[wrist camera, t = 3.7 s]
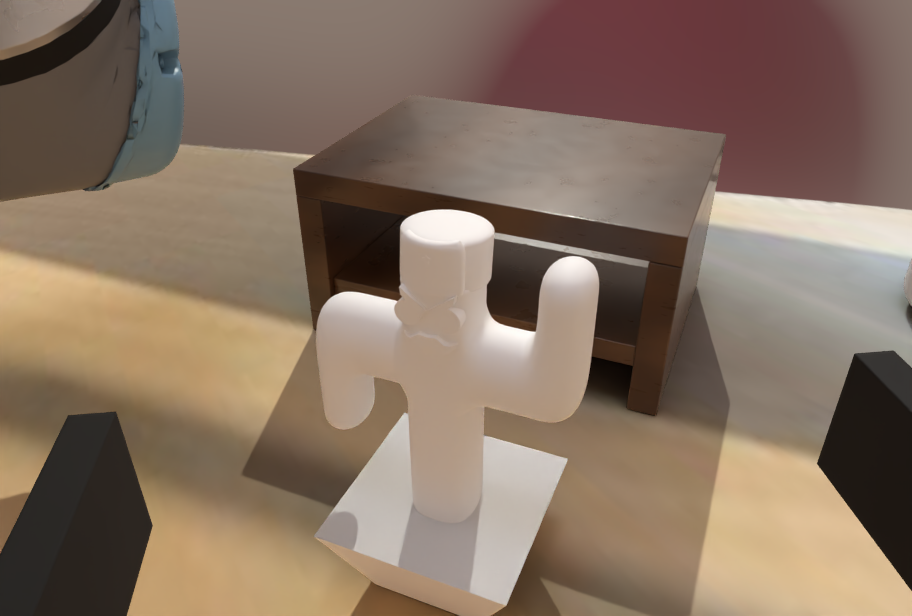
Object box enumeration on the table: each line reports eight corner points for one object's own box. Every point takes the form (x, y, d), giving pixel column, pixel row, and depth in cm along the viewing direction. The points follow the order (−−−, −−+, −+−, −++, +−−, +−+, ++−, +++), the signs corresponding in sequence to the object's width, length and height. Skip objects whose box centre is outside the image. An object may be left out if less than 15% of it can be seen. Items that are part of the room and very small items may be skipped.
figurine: (386, 467, 34) (362, 157, 26) (586, 530, 31) (630, 200, 23) (299, 592, 29) (235, 246, 21) (533, 683, 26) (565, 319, 18)
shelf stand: (313, 329, 44) (292, 168, 39) (416, 230, 55) (411, 94, 49) (655, 416, 37) (688, 237, 32) (696, 284, 48) (726, 134, 43)
